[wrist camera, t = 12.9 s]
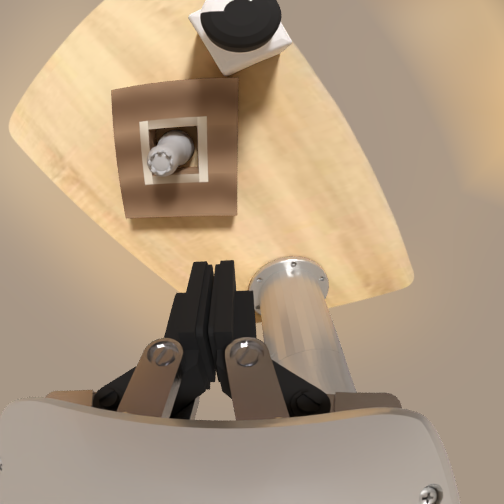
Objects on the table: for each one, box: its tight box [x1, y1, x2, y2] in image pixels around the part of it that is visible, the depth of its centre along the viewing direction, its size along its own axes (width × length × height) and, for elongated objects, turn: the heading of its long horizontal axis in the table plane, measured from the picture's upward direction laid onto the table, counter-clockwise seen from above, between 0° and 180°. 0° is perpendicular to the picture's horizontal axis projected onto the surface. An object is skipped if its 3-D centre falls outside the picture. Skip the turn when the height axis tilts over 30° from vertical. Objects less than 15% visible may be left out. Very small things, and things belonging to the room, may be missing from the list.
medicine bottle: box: [188, 0, 292, 77], centre depth 19 cm, size 7×7×12 cm
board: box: [111, 78, 239, 218], centre depth 29 cm, size 16×14×3 cm
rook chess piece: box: [147, 130, 194, 177], centre depth 27 cm, size 4×4×8 cm
